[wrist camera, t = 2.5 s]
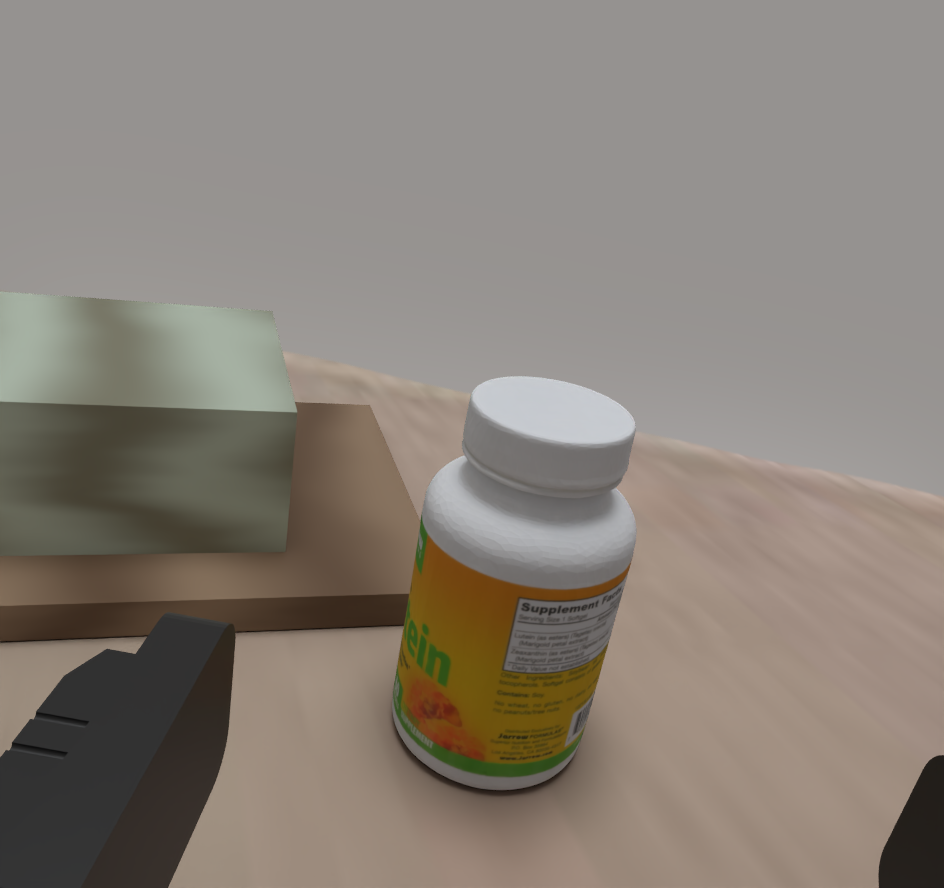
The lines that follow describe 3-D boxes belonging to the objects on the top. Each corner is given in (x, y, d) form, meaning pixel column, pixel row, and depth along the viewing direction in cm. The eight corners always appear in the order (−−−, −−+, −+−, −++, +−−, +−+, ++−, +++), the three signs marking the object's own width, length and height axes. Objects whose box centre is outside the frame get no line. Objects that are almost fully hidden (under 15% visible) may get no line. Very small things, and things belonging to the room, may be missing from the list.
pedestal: (366, 428, 41) (382, 302, 39) (445, 622, 28) (476, 453, 26) (-125, 412, 35) (-145, 260, 32) (-313, 654, 22) (-370, 432, 19)
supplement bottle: (368, 668, 26) (412, 361, 22) (532, 651, 28) (599, 367, 24) (422, 813, 21) (490, 459, 17) (613, 780, 23) (712, 455, 19)
